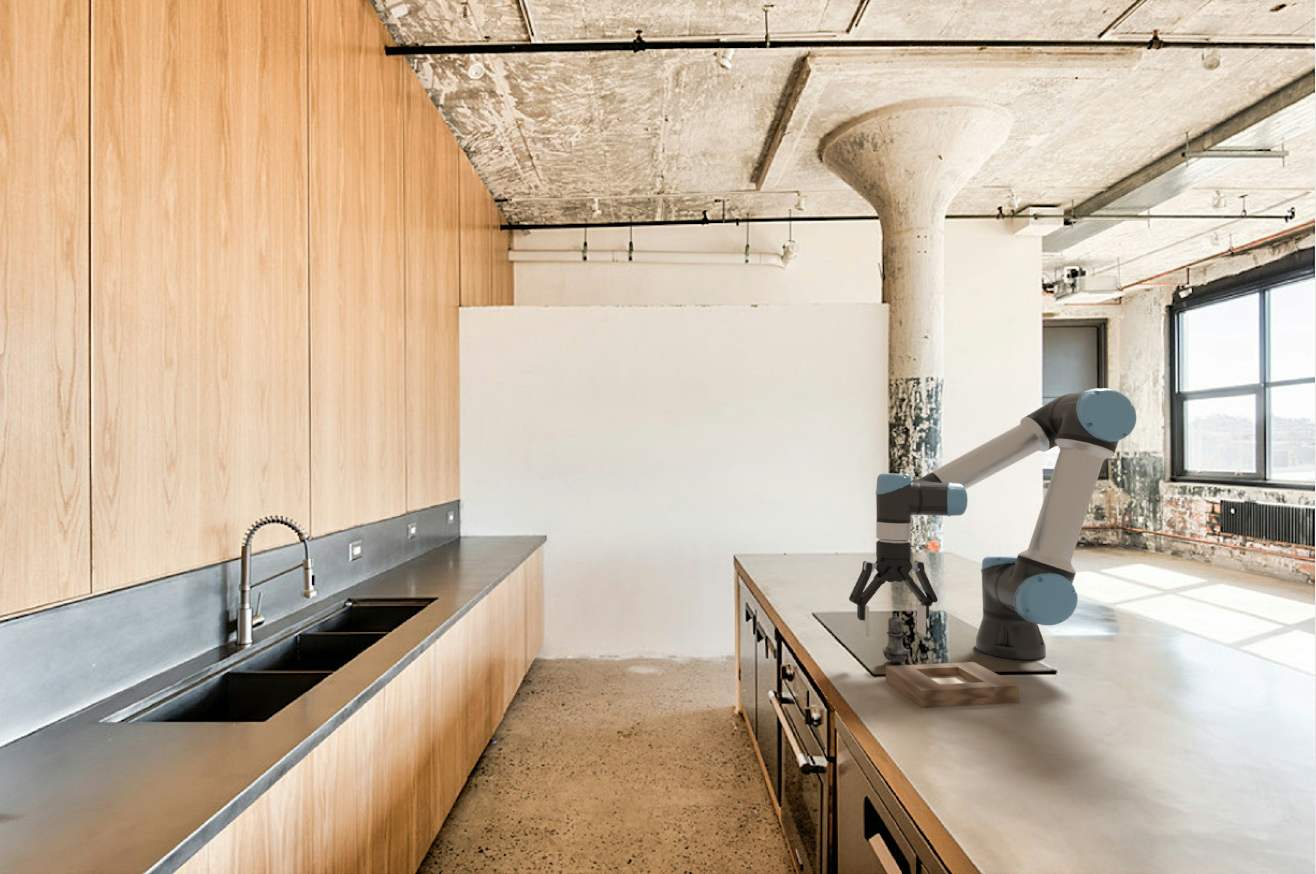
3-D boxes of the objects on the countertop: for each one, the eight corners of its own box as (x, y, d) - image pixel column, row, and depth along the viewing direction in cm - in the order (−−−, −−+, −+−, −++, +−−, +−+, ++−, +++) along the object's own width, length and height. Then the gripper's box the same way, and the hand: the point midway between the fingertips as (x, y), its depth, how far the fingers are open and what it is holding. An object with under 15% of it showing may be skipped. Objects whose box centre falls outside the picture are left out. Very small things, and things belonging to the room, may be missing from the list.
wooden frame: (973, 676, 143) (973, 661, 143) (1019, 702, 128) (1019, 685, 128) (885, 681, 141) (885, 666, 141) (922, 707, 126) (922, 690, 126)
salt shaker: (905, 671, 147) (904, 617, 147) (878, 667, 150) (877, 613, 151) (912, 665, 151) (911, 612, 152) (887, 660, 155) (886, 609, 155)
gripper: (935, 538, 157) (935, 628, 156) (834, 538, 154) (834, 630, 153) (953, 542, 150) (953, 637, 149) (848, 542, 147) (847, 639, 146)
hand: (893, 634), depth 151 cm, fingers open, 13 cm apart
